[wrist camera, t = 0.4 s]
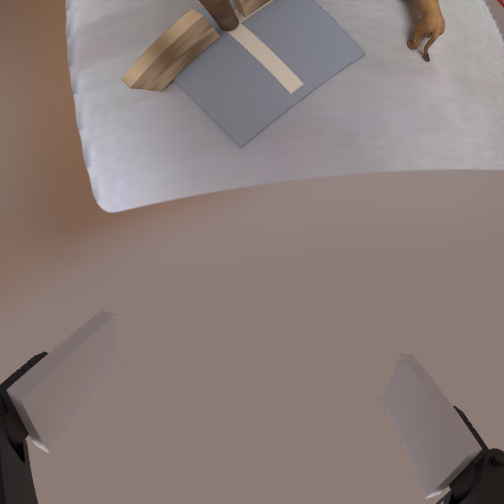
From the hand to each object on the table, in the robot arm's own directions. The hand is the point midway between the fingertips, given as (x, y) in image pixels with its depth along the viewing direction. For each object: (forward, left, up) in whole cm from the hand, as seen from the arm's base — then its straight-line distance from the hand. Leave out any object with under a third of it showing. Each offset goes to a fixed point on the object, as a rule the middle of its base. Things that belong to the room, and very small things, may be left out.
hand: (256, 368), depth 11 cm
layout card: (-11, -16, -27) cm, 33 cm away
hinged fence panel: (-4, -20, -26) cm, 33 cm away
